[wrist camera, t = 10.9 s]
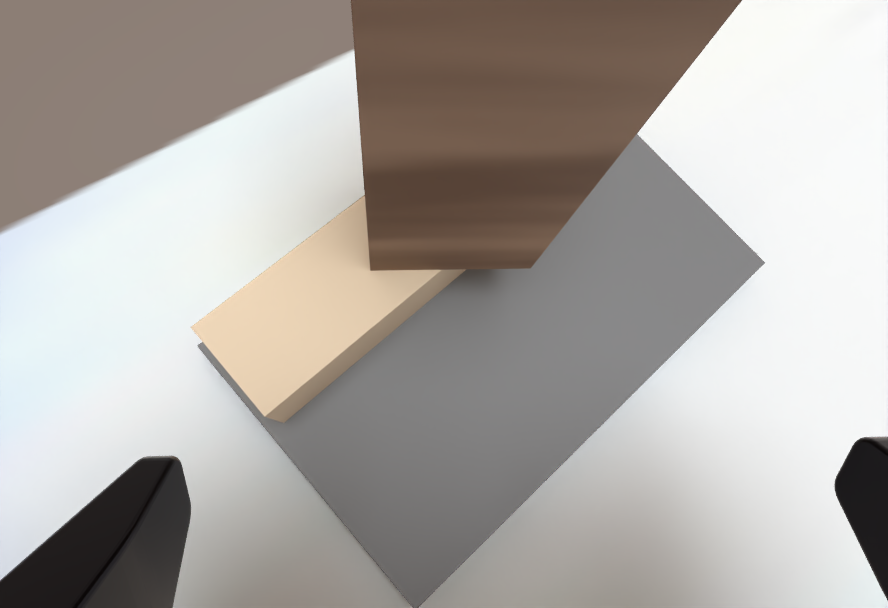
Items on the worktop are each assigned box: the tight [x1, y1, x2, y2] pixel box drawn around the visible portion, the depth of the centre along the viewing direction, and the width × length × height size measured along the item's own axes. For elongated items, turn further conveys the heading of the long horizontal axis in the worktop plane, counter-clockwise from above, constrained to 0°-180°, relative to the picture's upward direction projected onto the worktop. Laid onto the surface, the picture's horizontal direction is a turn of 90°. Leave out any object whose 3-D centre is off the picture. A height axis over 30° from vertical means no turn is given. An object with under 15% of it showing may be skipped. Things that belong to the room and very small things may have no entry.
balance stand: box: [191, 134, 765, 608], centre depth 18 cm, size 10×16×4 cm, turn 132°
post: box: [351, 0, 742, 271], centre depth 11 cm, size 4×4×13 cm
